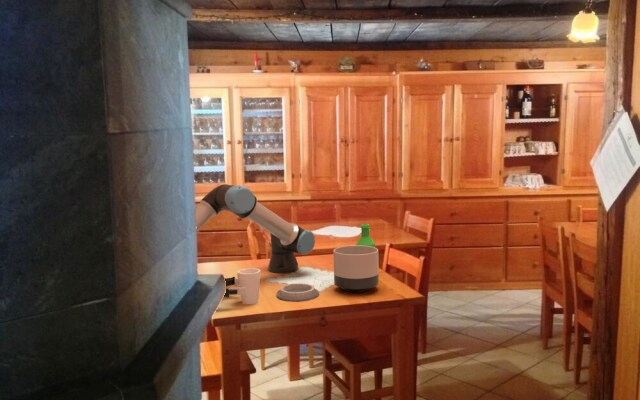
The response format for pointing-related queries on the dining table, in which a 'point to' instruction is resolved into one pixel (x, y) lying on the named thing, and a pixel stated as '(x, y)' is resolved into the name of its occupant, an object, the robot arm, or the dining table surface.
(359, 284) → the planter
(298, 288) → the collar coaster
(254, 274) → the foam cup
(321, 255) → the dining table surface
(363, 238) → the bottle
